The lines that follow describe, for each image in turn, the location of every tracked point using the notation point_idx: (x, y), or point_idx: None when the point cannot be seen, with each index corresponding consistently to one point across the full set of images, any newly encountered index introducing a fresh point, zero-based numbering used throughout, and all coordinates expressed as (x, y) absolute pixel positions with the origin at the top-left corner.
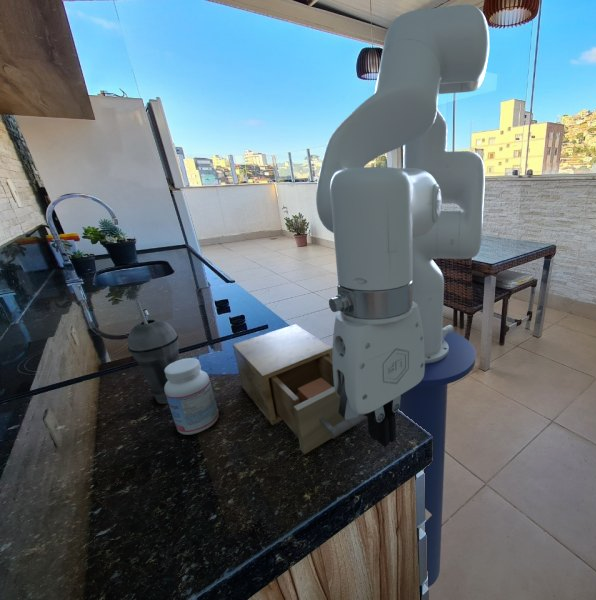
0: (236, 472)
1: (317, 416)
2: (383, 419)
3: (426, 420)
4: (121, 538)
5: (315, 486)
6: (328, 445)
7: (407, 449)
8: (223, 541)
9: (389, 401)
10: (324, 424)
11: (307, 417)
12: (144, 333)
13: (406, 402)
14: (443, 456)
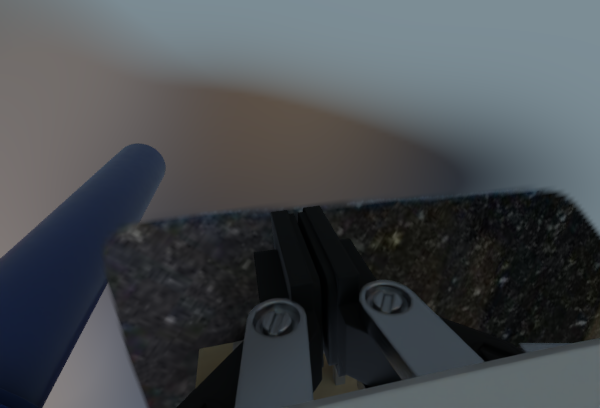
0: None
1: (351, 391)
2: (359, 285)
3: (24, 296)
4: (575, 305)
5: (375, 248)
6: None
7: (160, 222)
8: (513, 237)
9: (494, 367)
10: None
11: None
12: None
13: (45, 352)
14: (33, 231)
